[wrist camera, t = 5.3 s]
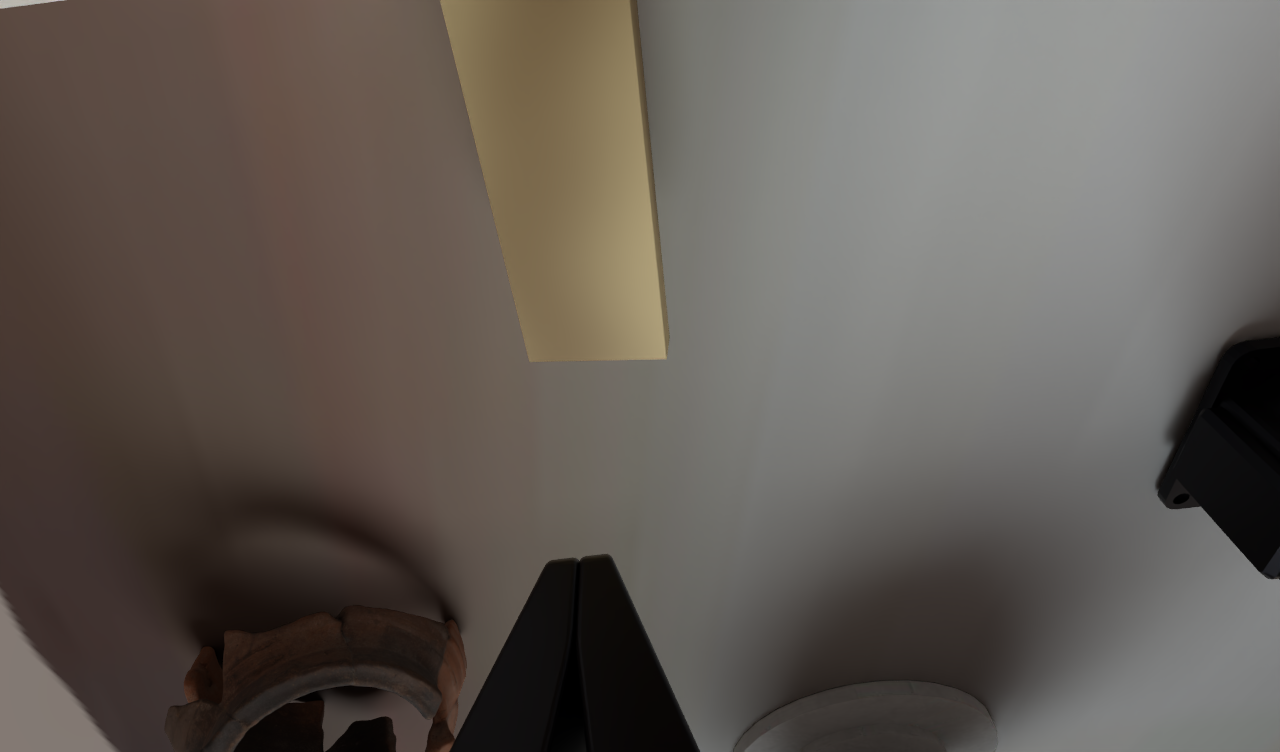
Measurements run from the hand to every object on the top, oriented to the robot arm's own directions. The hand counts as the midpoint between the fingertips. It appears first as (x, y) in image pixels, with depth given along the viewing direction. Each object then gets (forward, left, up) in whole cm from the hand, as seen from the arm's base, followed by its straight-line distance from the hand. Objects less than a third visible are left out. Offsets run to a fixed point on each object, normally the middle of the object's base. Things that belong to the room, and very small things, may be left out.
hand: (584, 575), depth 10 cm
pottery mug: (+12, +16, -10) cm, 22 cm away
